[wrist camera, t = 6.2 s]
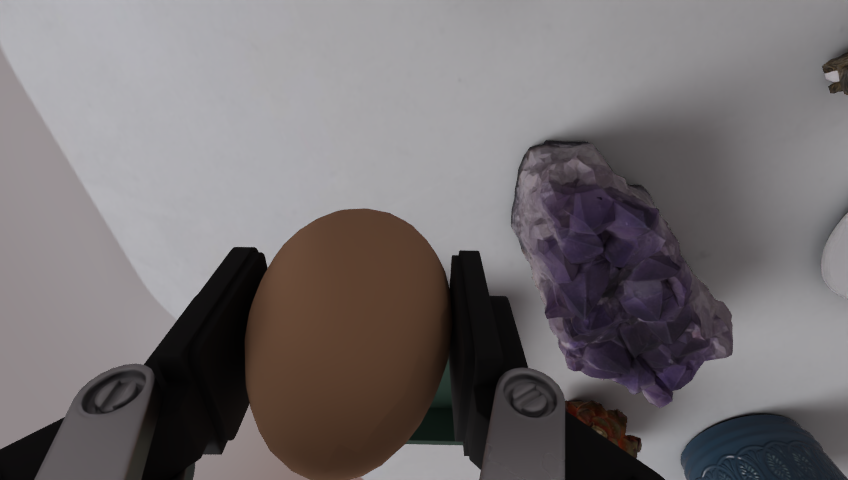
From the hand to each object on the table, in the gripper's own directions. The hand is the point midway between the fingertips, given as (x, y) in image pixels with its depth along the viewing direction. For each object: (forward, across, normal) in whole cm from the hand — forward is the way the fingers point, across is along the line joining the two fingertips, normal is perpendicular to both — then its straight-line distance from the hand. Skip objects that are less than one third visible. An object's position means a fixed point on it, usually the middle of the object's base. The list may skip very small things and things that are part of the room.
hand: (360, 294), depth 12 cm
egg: (+3, 0, 0) cm, 3 cm away
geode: (+17, -15, +9) cm, 24 cm away
